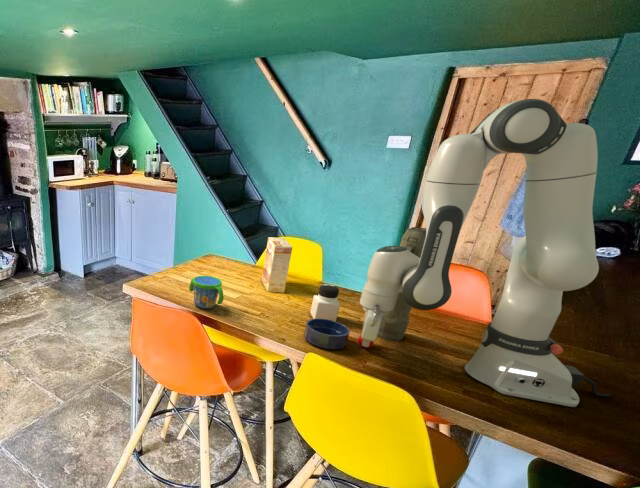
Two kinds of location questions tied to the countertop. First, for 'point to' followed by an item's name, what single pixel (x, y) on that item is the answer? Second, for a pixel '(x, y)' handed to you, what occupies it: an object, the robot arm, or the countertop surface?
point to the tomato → (362, 341)
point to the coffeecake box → (276, 264)
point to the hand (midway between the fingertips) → (365, 342)
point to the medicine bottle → (325, 303)
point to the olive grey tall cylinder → (399, 316)
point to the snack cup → (206, 291)
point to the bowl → (326, 333)
